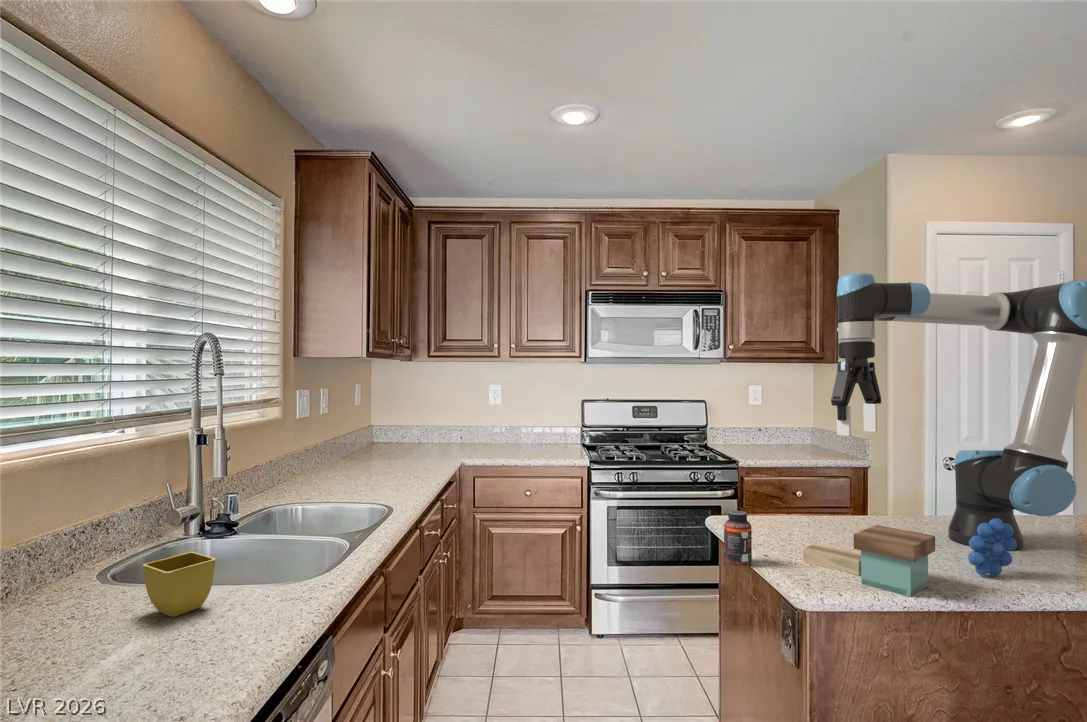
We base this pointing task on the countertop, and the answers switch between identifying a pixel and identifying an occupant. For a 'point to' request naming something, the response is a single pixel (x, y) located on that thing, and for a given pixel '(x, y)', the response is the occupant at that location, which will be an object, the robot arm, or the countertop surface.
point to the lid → (894, 543)
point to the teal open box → (894, 573)
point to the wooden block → (833, 558)
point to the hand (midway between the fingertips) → (857, 433)
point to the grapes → (992, 547)
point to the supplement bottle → (737, 539)
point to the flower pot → (179, 582)
